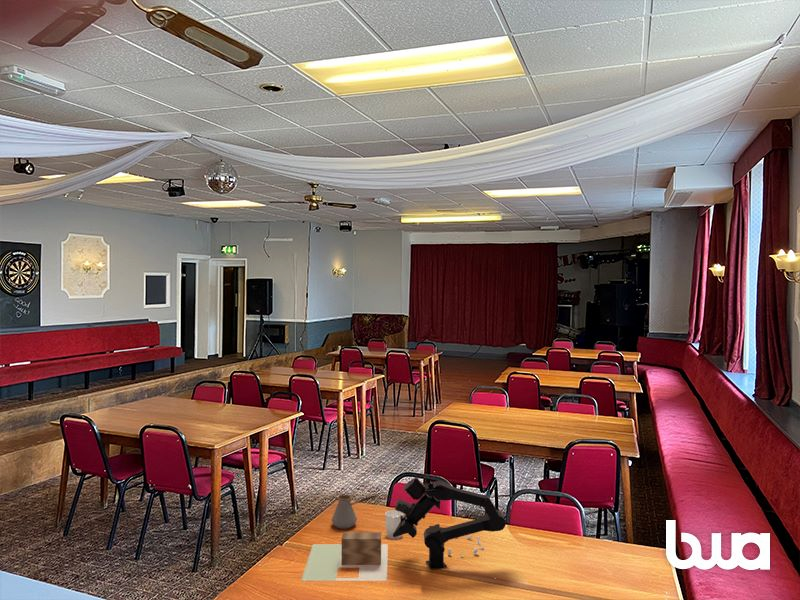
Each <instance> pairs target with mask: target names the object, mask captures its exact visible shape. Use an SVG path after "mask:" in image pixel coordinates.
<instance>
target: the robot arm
mask: <svg viewBox="0 0 800 600" xmlns="http://www.w3.org/2000/svg"><path fill="white" fill-rule="evenodd" d="M403 491H405V492H406V494H407V495H409V497H411V498H412V499H413V501H414V502H412V503H409V502H408V501H406V500H404V499H401V498H398V499H397V501H396V503H395V505H394V510H396V511H400V512H402V513H403V516H402V515H400V523H399V525H398V527H397V528H396V530H395V532H394V533H393V536H394V537H397V536H400V535H402V536H403V535H405V534H407V535H409V536H410V537H411V538H413V539H414V538H415V537H416V536H417V534H418V532H417V527H418V526H419V522H420V521H422V519H423V520H425V519H426V517H427V514H428V513H429V512H430V511H431V510H432V509H433V508H434V507H436V508H437V509H441V501H445V502H447V501H457V502H461V503H466V504H470V505H473V506H477V507H482V508H483V510H484V511H485V512H486V513H485V514H483V515H482V516H481V517H480V518H475V519H472V520H469V521H468V520H467V521H465V522H461V523H458V524H455V525H454V524H453V525H450V526H447V527H442V526H440V523H437V524H434V525H429V526H428V527H427V528H426V529H425V530H424V532H423V540H424V541H423V542H424V545H425V547H426V548H427V549H428V560H425V563H426V564H427V566H428V567H429V568H430V569H431V570H436V569H444V568H447V567H448V565H447V564H446V562H445V561H444V560H445V559H444V557H445V556H444V555H445V549H446V547H445V543H447V542H448V541H450V540H453V539H456V538H457V539H459V538H462V537H466V535H467V536H468V535H469V536H470V535H473V534H477V533H479V532H485V531H486V532H492V533H493V532H501V531H503V530H505V527H506V523H507V522H506V520H505V517H504V515H503V513H502V511H500V510H498V509H497V508H496V506H495V504H494V503H493V501H492V499H491V497H490V496H489V495H487V494H481V493H477V492H474V491H473V492H472V491H470V490H466V489H463V488H462V489H460V488H457V487H454V486H453V485H451V484H450V483H448V482H446V481H444V480H439V479H438V480H436V481H434V482H433V483H422V482H421V481H420V479H419V478H418V477H417V476H415V477H414V478H412V479H410V480H409V481H407V482H406V484H405V485H404V486H403ZM415 500H416V502H415ZM417 500H418V501H417Z"/></svg>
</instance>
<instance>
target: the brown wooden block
mask: <svg viewBox="0 0 800 600" xmlns="http://www.w3.org/2000/svg"><path fill="white" fill-rule="evenodd" d="M341 544H342V552H341V555H342V565H381V544H382V531H381V532H379V531H378V532H373V531H372V532H371V531H370V532H364V531H363V532H349V531H348V532H347V531H346V532H342V535H341Z"/></svg>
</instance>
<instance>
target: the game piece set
mask: <svg viewBox="0 0 800 600" xmlns="http://www.w3.org/2000/svg"><path fill="white" fill-rule="evenodd" d="M472 536H473V534H469V535H465V537H466V538H467V540H470V541H471V540H472V539H473V537H472ZM455 539H458V538H455ZM475 542H476V543H475V544H476V545H478V546H480V548H477V547H475V548H474V549H473V551H472V553H473V554H474V556H476V555H477V553H478V552H479V550H485V547H484V546H481V544H482V540H480V536H479V535H478V536H477V540H476V541H475ZM447 550H448V551H447V554H448V556H451V555H452V549H451V548H450V547H449V548H448V549H447ZM459 556H461V558H466V556H465V555H464V554H463V555H462V554H459Z"/></svg>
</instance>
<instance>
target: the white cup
mask: <svg viewBox="0 0 800 600" xmlns="http://www.w3.org/2000/svg"><path fill="white" fill-rule="evenodd" d="M384 515H385V516H384V518H385V519H384V520H385V536H386V538H388V539H390V540H399V539H401V538H402V537H403V535H400V536H397V537H394V536H393V533H394V532H395V530H396V528H397V527H398V525H399V523H400V515H402V516H403V515H404V513H402V512H400V511H396V510H395V509H390V510H387V511H385V513H384Z"/></svg>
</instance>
